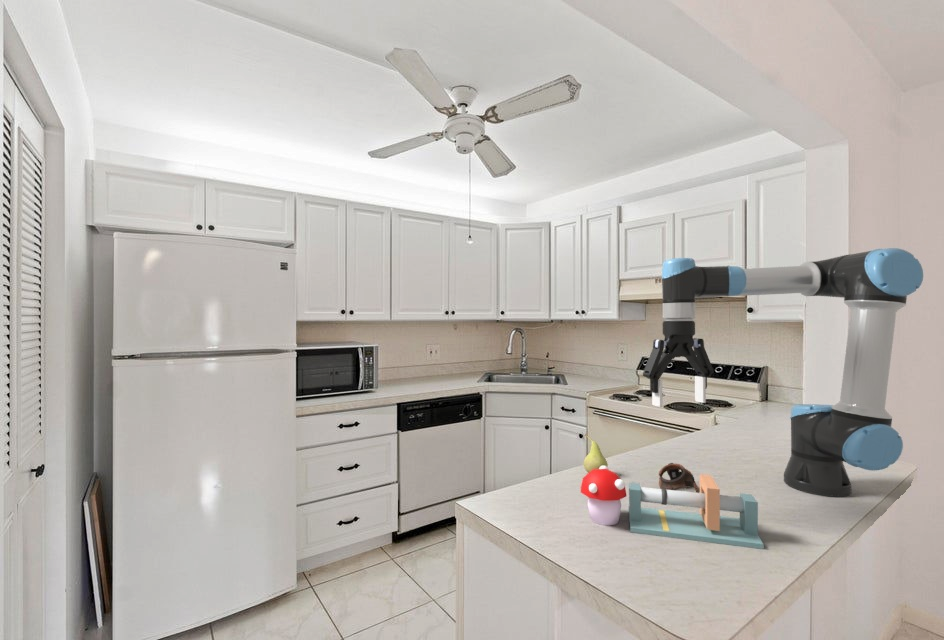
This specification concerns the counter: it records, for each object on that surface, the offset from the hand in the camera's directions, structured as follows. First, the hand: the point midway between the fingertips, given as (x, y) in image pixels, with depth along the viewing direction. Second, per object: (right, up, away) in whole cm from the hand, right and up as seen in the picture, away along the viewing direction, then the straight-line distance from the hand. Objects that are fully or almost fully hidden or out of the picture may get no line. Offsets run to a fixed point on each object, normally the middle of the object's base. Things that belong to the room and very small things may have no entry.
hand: (679, 404), depth 114 cm
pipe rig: (-3, -26, -11) cm, 29 cm away
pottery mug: (+5, -26, +11) cm, 29 cm away
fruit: (-15, -26, +23) cm, 38 cm away
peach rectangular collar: (+1, -24, -13) cm, 27 cm away
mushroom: (-21, -27, -7) cm, 35 cm away
